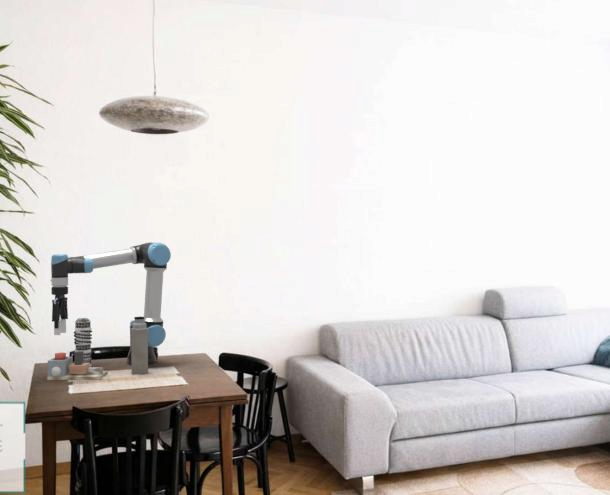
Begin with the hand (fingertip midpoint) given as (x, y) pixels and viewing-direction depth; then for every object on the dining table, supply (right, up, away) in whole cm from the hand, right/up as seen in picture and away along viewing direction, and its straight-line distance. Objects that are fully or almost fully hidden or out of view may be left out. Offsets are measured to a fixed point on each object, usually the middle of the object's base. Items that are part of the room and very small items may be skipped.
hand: (60, 333), depth 314 cm
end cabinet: (0, -21, 0) cm, 21 cm away
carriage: (+9, -19, 0) cm, 21 cm away
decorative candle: (+2, -21, +27) cm, 34 cm away
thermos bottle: (+36, -21, +10) cm, 43 cm away
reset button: (0, -13, 0) cm, 13 cm away
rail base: (+9, -21, 0) cm, 23 cm away
